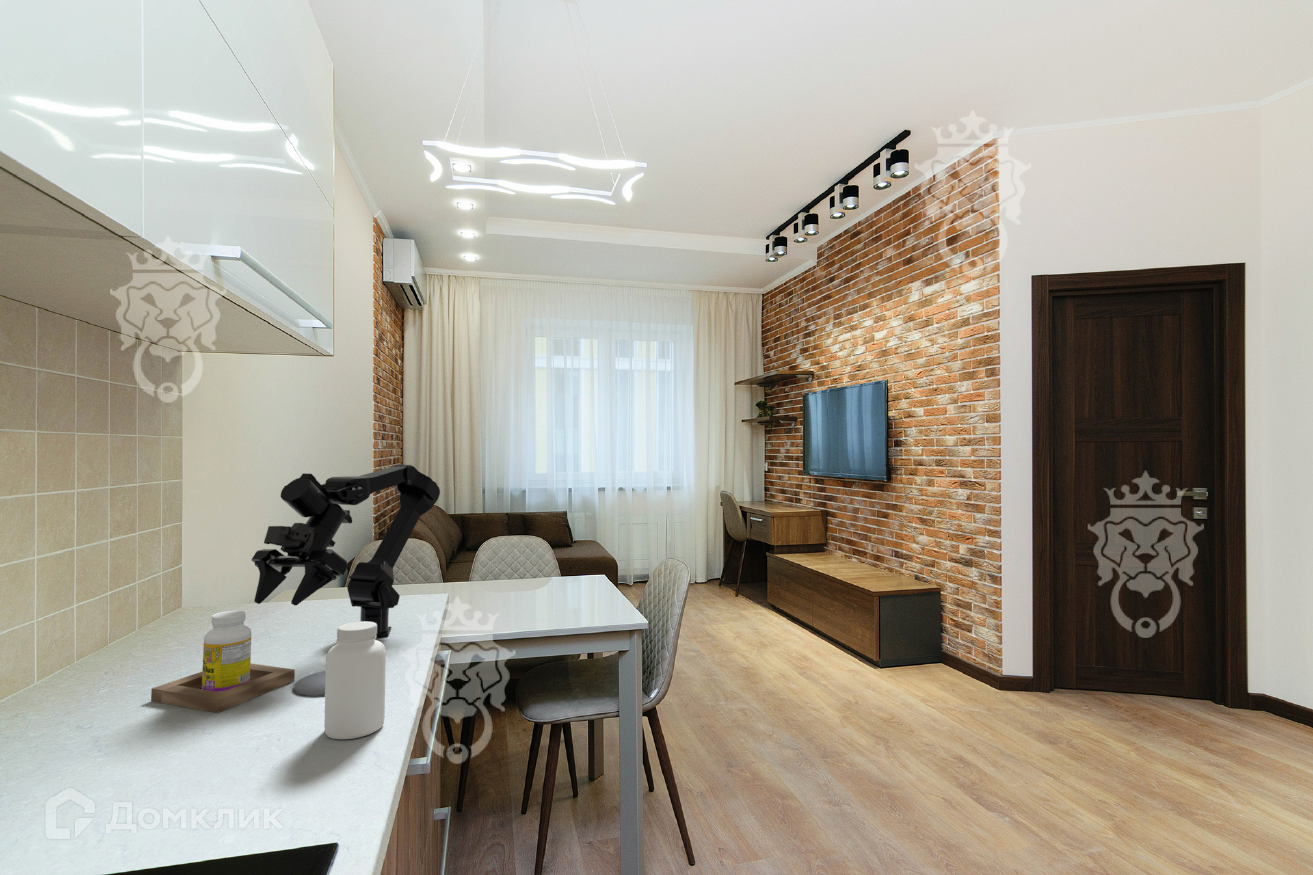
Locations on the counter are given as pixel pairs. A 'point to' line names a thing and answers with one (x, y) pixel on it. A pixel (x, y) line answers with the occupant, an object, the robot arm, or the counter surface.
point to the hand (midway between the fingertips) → (274, 603)
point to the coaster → (311, 685)
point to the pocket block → (193, 697)
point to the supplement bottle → (226, 652)
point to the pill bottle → (355, 682)
